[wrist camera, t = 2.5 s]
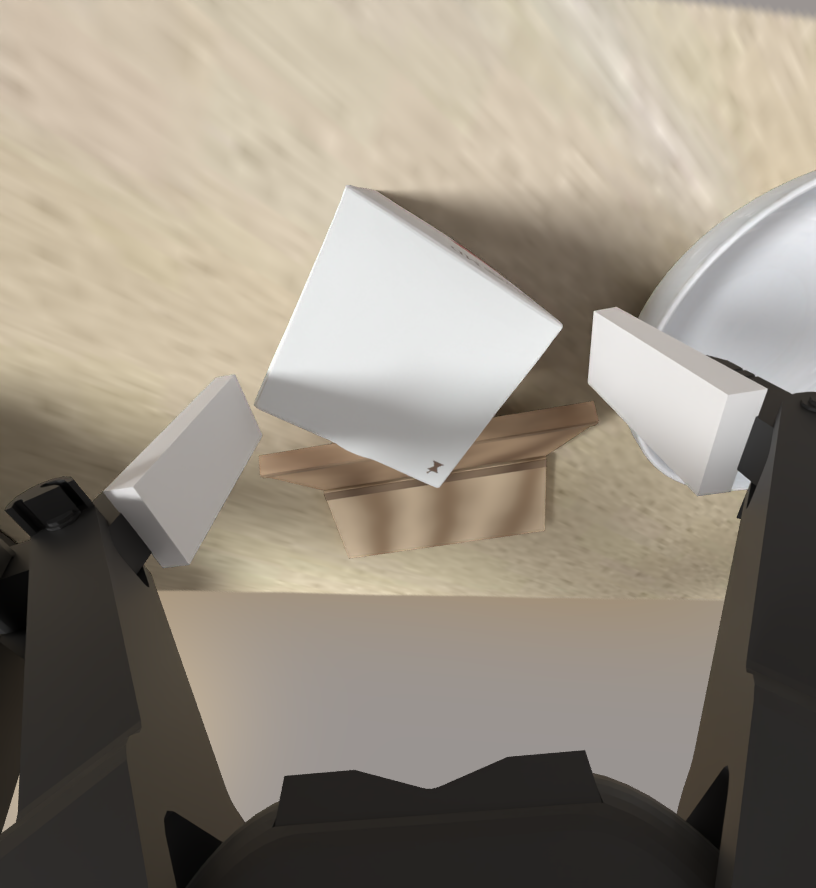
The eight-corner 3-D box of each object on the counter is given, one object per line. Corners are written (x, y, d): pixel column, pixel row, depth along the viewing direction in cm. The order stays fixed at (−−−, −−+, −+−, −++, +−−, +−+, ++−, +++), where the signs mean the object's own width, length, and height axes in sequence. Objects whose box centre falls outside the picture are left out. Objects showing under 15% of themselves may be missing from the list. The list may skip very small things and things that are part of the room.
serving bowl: (571, 453, 35) (605, 504, 30) (621, 173, 24) (693, 167, 18) (804, 434, 35) (885, 482, 29) (968, 140, 24) (1155, 123, 18)
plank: (321, 477, 35) (322, 491, 35) (258, 455, 24) (260, 476, 23) (543, 441, 34) (546, 456, 34) (593, 400, 22) (599, 422, 22)
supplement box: (490, 263, 26) (577, 328, 14) (422, 371, 31) (441, 497, 18) (371, 182, 24) (344, 172, 11) (314, 313, 28) (247, 412, 15)
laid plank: (350, 549, 41) (348, 559, 40) (325, 484, 36) (323, 493, 35) (540, 522, 40) (544, 531, 39) (542, 450, 35) (546, 458, 34)
